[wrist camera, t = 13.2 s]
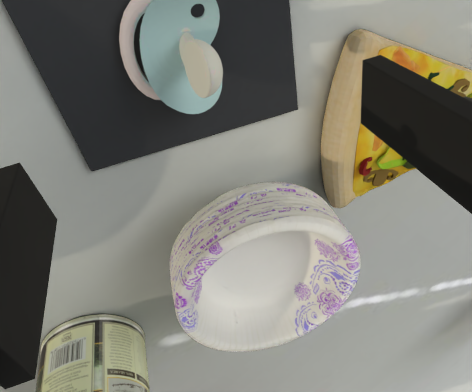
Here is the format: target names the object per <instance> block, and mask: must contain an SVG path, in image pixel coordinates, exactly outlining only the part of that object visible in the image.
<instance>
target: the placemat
mask: <svg viewBox="0 0 472 392" xmlns="http://www.w3.org/2000/svg"><path fill="white" fill-rule="evenodd" d="M130 1H131V0H2V2H3V3H4V5H5V7H6V9H7V11H8V13H9V15H10V17H11V19H12V21H13V23H14V24H15V26H16V28H17V30H18V32H19V34H20V36H21V38H22V40H23V42H24V44H25V45H26V47H27V49H28V51H29V53H30V55H31V57H32V59H33V61H34V63H35V65H36V66H37V68H38V70H39V72H40V74H41V76H42V78H43V80H44V82H45V84H46V86H47V87H48V89H49V91H50V93H51V95H52V97H53V99H54V101H55V103H56V105H57V107H58V108H59V110H60V112H61V114H62V116H63V118H64V120H65V122H66V124H67V126H68V128H69V129H70V131H71V133H72V135H73V137H74V139H75V141H76V143H77V145H78V147H79V149H80V150H81V152H82V154H83V156H84V158H85V160H86V162H87V164H88V166H89V168H90V170H91V171H95V170H98V169H102V168H105V167H108V166H112V165H115V164H118V163H122V162H125V161H128V160H132V159H135V158H138V157H142V156H145V155H148V154H152V153H155V152H158V151H162V150H165V149H168V148H171V147H175V146H178V145H181V144H185V143H188V142H191V141H195V140H198V139H201V138H205V137H208V136H211V135H215V134H218V133H221V132H225V131H228V130H231V129H235V128H238V127H241V126H245V125H248V124H251V123H255V122H258V121H261V120H265V119H268V118H271V117H275V116H278V115H281V114H284V113H288V112H291V111H294V110H298V105H297V92H296V80H295V68H294V56H293V43H292V31H291V19H290V7H289V0H216V2H217V4H218V7H219V15H220V19H219V27H218V30H217V33H216V35H215V38H214V40H213V41H212V43H211V46H212V47H213V48H214V49H215V51H216V52H217V54H218V55H219V57H220V60H221V63H222V67H223V78H222V90H221V93H220V96H219V98H218V100H217V101H216V103H215V104H214V105H213V106H212V107H211V108H210V109H208V110H207V111H205V112H202V113H199V114H186V113H183V112H179V111H177V110H175V109H173V108H171V107H169V106H167V105H166V104H165V103H164V102H163V101H162V100H155V99H152V98H150V97H148V96H146V95H145V94H143V93H142V92H141V91H140V90H138V88H137V87H136V86H135V85H134V83H133V82H132V81H131V79H130V77H129V75H128V73H127V71H126V69H125V67H124V63H123V60H122V57H121V52H120V43H119V34H120V24H121V20H122V17H123V13H124V11H125V9H126V7H127V6H128V4H129V2H130ZM204 11H205V9H204V6H203V5H202V4H195V5H193V7H192V8H191V15H192V16H193V17H200V16H202V15H203V14H204ZM144 14H145V13H144ZM144 14H143V15H142V16H141V17H140V19H139V21H138V23H137V26H136V29H135V33H134V52H135V56H136V59H137V62H138V65H139V67H140V69H141V71H142V72H143V74H144V75H145V77H146V78H147V76H146V73H145V71H144V67H143V63H142V59H141V52H140V29H141V24H142V20H143V16H144ZM147 79H148V78H147Z"/></svg>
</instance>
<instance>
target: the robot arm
mask: <svg viewBox="0 0 472 392" xmlns="http://www.w3.org/2000/svg"><path fill="white" fill-rule="evenodd" d="M361 124H362V125H364V126H365V127H366V128H367V129H368V130H370V131H371V132H372V133H373V134H375V135H376V136H377V137H378V138H379V139H381V140H382V141H383V142H384V143H386V144H387V145H388V146H389V147H391V148H392V149H393V150H394V151H395V152H397V153H398V154H399V155H400V156H402V157H403V158H404V159H405V160H406V161H408V162H409V163H410V164H411V165H413V166H414V167H415V168H416V169H417V170H419V171H420V172H421V173H422V174H424V175H425V176H426V177H427V178H428V179H430V180H431V181H432V182H433V183H435V184H436V185H437V186H438V187H440V188H441V189H442V190H443V191H444V192H446V193H447V194H448V195H449V196H451V197H452V198H453V199H454V200H455V201H457V202H458V203H459V204H460V205H462V206H463V207H464V208H465V209H466V210H468V211H469V212H470V213H471V214H472V98H470V97H462V96H460V95H458V94H456V93H454V92H452V91H450V90H448V89H446V88H444V87H442V86H440V85H438V84H436V83H434V82H432V81H430V80H429V79H427V78H425V77H423V76H421V75H419V74H417V73H415V72H413V71H411V70H409V69H407V68H405V67H403V66H401V65H399V64H397V63H395V62H394V61H392V60H390V59H388V58H386V57H384V56H382V55H378V56H375V57H372V58H368V59H365V60H363V62H362V94H361ZM56 224H57V218H56V217H55V215H54V214H53V212H52V211H51V209H50V208H49V206H48V205H47V203H46V202H45V200H44V199H43V197H42V196H41V194H40V193H39V191H38V190H37V188H36V187H35V185H34V184H33V182H32V181H31V179H30V177H29V176H28V174H27V173H26V171H25V170H24V168H23V167H22V165H21V164H20V163H17V164H14V165H10V166H7V167H4V168H0V386H2V387H3V388H4V389H7V388H10V387H13V386H16V385H18V384H21V383H24V382H27V381H30V380H32V379H35V375H36V367H37V360H38V353H39V346H40V339H41V331H42V324H43V317H44V310H45V303H46V296H47V288H48V281H49V274H50V267H51V260H52V253H53V245H54V238H55V231H56Z"/></svg>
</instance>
